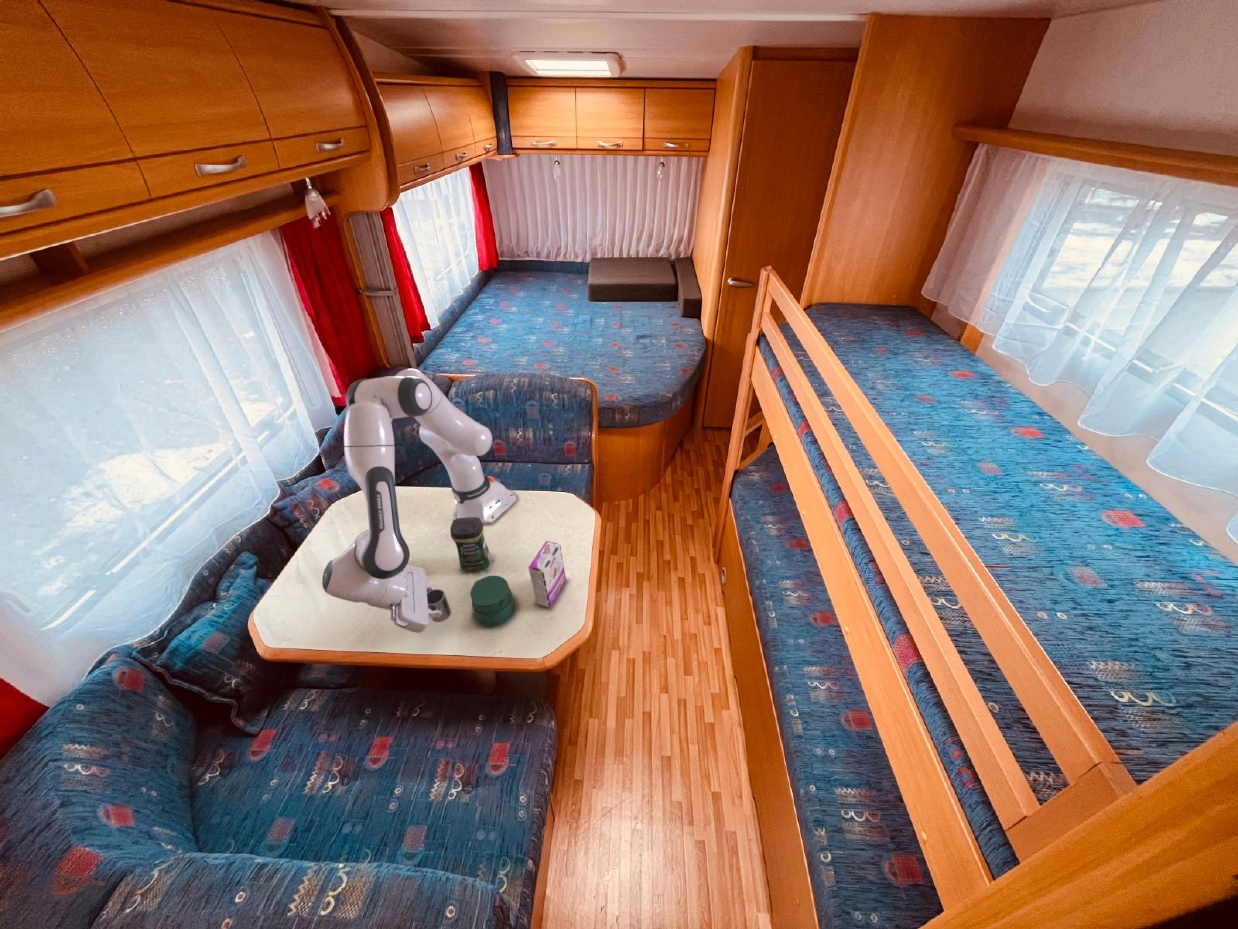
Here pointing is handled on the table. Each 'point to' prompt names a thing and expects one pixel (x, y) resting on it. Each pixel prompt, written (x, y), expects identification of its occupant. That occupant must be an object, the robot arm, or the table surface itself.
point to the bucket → (492, 601)
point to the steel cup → (438, 604)
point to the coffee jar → (470, 544)
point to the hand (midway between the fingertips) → (439, 604)
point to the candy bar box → (547, 574)
